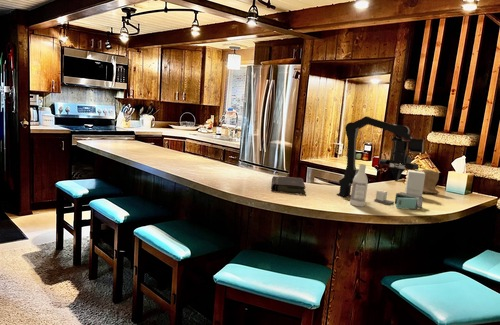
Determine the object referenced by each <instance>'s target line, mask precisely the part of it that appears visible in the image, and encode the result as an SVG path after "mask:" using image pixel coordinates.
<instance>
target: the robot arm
mask: <svg viewBox="0 0 500 325" xmlns="http://www.w3.org/2000/svg"><path fill="white" fill-rule="evenodd" d="M367 125H369V126H371V127H376V128H378V129H381V130H385V131H388V132H390V133H391V134H393V135H394V137H393V138H391V141H392V142H394V149H393V151H392V156H393V157H392V159H389V158H380V159H379V162H378V165H381V166H387V165H388V168H389V169H390V171H391V173H392V176H393V180H394V182H398V181H399V179H400V177H401V175H403V172H404V171H405V170H406V171H408V170H412V171H418V170H419V167H420V166H419V164H418V163H414V162H413V163H412V158H411V157H409V156H408V153H407V150H409V152H410V153H420V154H422V153H423V152H424V147H425V146H424V143H425V142H424V140H425V139H424V138H413V137H412V135H411V134H410V128H409V126H407V125H402V124H394V123H389V122H385V121H382V120H379V119H375V118H372V117H370V116H368V115H367V116H364V117H363V118H360V119H357V120H355V121H353V122H348V123H347V124H346V125H345V128H344V129H345V135H346V138H347V155H346V156H347V158H346V167H345V170H344V174H343V177H342V178H341V179H340V180H338V183H339V192H338V193H336V195H337V196H340V197H345V198H351V192H352V185H353V179H354V177H355V175H356V174H357V173H358V172H359V168H357V167H356V151H357V148H356V147H357V138H358V135H359V131H360V129H362V128H365V126H367ZM404 139H405V140H404Z"/></svg>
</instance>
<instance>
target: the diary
mask: <svg viewBox="0 0 500 325" xmlns="http://www.w3.org/2000/svg"><path fill="white" fill-rule="evenodd" d="M270 188H271V190H270V191H272V192H273V191H274V190H275V192H282V193H288V194H296V195H305V190H306V184H305V182H304V179H303V178H302V177H291V176H276V175H274V176H272V178H271V186H270Z"/></svg>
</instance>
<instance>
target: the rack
mask: <svg viewBox="0 0 500 325" xmlns="http://www.w3.org/2000/svg"><path fill="white" fill-rule="evenodd" d="M397 197H398V198H415V199H417V202H416V208H415V210H419V209H421V208H422V207H423V200H424V196H422V197H421V196H417V195H412V194H408V193H405V192H396V193H395V199H394V204H395V205H396V204H397Z"/></svg>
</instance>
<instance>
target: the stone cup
mask: <svg viewBox="0 0 500 325" xmlns="http://www.w3.org/2000/svg"><path fill="white" fill-rule="evenodd" d="M421 172H424V173H425V180H424V186H423V193H422V194H440V191H438V190H437V189H436V185H437V184H438V181H439V177H440V173H439V171H434V170H432V169H425V168H424V169H422V171H421Z"/></svg>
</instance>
